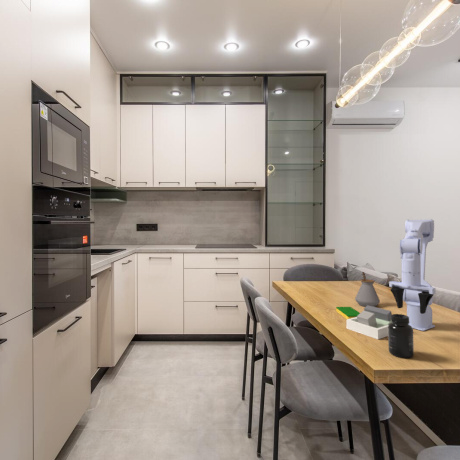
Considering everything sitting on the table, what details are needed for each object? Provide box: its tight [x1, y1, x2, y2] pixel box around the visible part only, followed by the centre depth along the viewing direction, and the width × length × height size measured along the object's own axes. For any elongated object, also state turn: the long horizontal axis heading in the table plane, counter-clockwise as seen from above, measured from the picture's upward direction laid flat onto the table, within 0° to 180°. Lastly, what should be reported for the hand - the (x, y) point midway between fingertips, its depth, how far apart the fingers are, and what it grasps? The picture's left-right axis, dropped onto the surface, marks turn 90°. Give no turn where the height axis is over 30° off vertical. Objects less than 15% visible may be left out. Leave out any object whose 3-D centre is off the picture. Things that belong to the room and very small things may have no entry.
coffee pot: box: [354, 271, 381, 308], centre depth 150 cm, size 21×12×15 cm, turn 162°
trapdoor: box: [357, 305, 393, 328], centre depth 110 cm, size 11×10×4 cm
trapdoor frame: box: [345, 317, 388, 340], centre depth 110 cm, size 14×13×4 cm
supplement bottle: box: [387, 313, 415, 359], centre depth 89 cm, size 7×7×12 cm
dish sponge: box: [335, 306, 361, 320], centre depth 129 cm, size 7×14×2 cm, turn 0°
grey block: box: [357, 310, 377, 328], centre depth 108 cm, size 4×4×5 cm
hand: (411, 310), depth 100 cm, fingers open, 7 cm apart
